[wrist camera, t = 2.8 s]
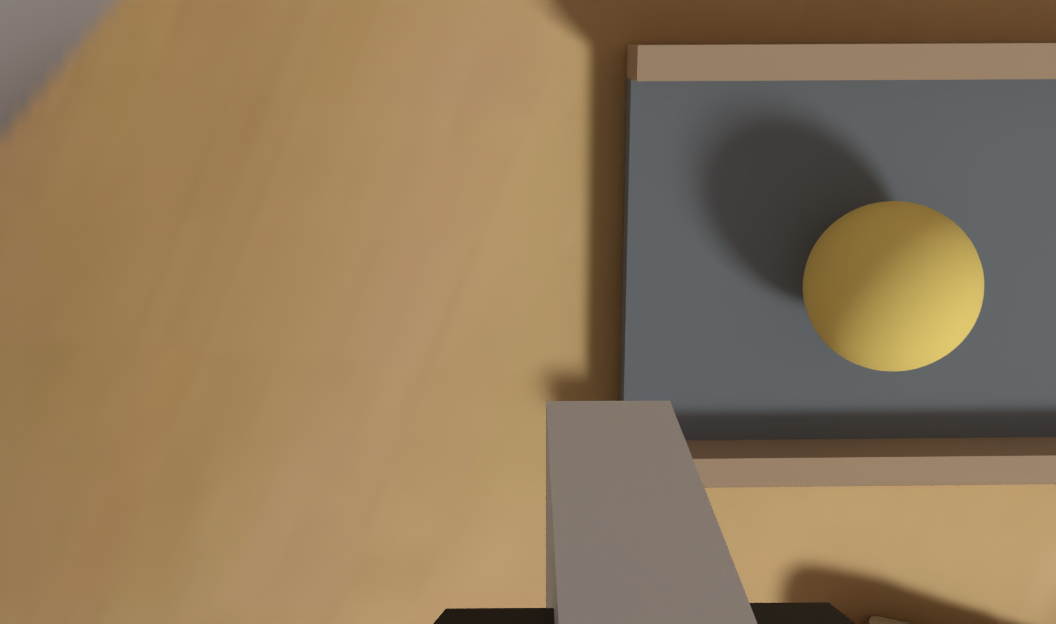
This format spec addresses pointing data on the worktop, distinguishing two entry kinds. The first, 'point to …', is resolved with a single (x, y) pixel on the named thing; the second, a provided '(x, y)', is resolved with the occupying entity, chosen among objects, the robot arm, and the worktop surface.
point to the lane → (795, 226)
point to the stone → (884, 620)
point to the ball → (893, 286)
